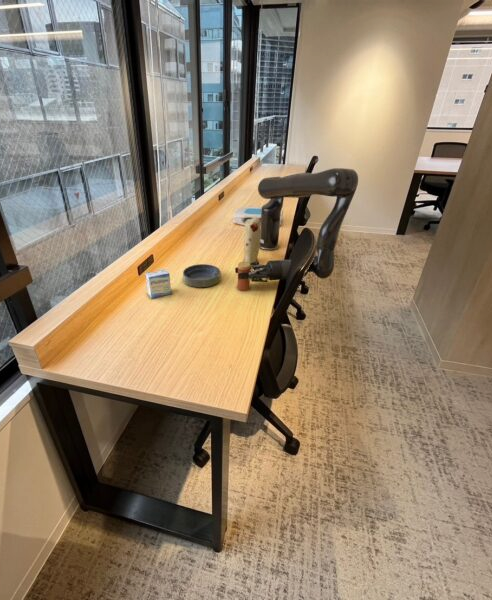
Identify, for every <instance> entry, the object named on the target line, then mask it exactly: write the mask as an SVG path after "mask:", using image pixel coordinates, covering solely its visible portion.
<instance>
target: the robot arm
mask: <svg viewBox="0 0 492 600" xmlns="http://www.w3.org/2000/svg"><path fill="white" fill-rule="evenodd" d="M358 185H359V175H358V172H357V171H356V170H355V169H353V168H344V167H343V168H341V167H333V168H328V169H326V170H322V171H319V172H316V173H311V172H301V173H294V174H290V175H286V176H269V177H263V178H262V179H261V180H260V181H259V183H258V186H257V192H258V194H259V196H260V197H261V198H262V199H265V200H269V201H268V202H266V203H265V204H263V205H262V206H261V207H262V208H261V218H260V223H261V226H260V246H259V249H261V250H263V251H264V250H265V251H274V250H277V249H278V248H279V241H280V240H279V239H280V228H281V227H280V226H281V225H280V216H281V210H283V207H284V200H285V198H289V199H291V198H292V199H302V198H304V199H305V198H308V197H310V196H314V195H315V196H324V197H325V196H326V197H330V198H331V197H332V198H336V199H335V203H334V205H333V207H332V209H331V211H330V212H329V214H328V216H327V217H326V218H325V220H324V221H323V223H322V225H321V226H320V228H319V230H318V234H317V239H316V244H315V250H316V252H317V254H316V255H314V256H315V257H314V260H313V262H312V264H311V265H310V267H309V269H308V270H307V272H306V273H305V275H304V277H306V276H307V275H308V273H313V274H314V275H315V276H316V277H318V278H319V279H327V278H329V277H330V276H331V275H332V273H333V272H334V269H335V258H336V257H335V250H336V246H337V243H338V238H339V234H340V231H341V228H342V225H343V222H344V220H345V218H346V215H347V212H348V210H349V208H350V205H351V203H352V200H353V197H354V196H355V193H356V191H357V189H358ZM291 260H292V259H278V260H277V259H276V260H268V261H267V262H266V264H260V261H256V262H252V263H250V272H249V274H248V273H239V274H238V266H237V267H235V268H234V270H235V271H234V272H235V274H237V280H238V279H249V280H250V282H253V283H268V280H269V281H282V280H287V279H286V278H287V273H288V271H289V268H290V265H291ZM304 277H303V278H304Z"/></svg>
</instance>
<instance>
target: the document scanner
mask: <svg viewBox="0 0 492 600" xmlns="http://www.w3.org/2000/svg"><path fill="white" fill-rule="evenodd" d="M261 208H262V206H243V207H237V208H236V210H235V211H234V214H233V216H232V223H234V224H238V225H241V226H245V225H246V220H247V219H251V218H254V217H257V218H259V219H261ZM283 214H284V210H283V209H281V216H280V226H282V223H283V216H284V215H283ZM260 226H261V222H260Z"/></svg>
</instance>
